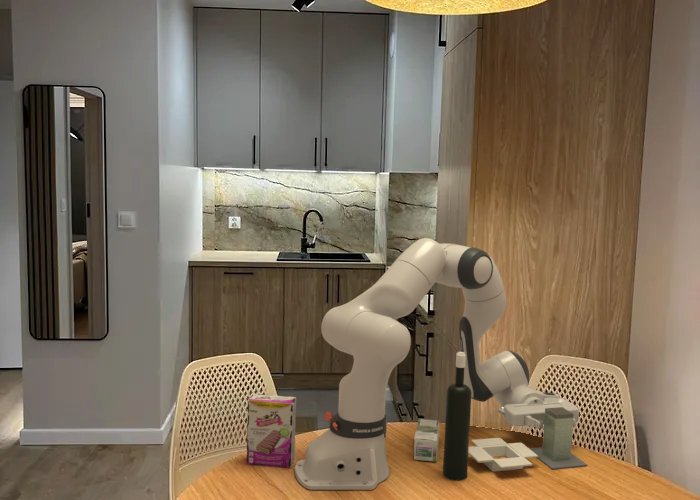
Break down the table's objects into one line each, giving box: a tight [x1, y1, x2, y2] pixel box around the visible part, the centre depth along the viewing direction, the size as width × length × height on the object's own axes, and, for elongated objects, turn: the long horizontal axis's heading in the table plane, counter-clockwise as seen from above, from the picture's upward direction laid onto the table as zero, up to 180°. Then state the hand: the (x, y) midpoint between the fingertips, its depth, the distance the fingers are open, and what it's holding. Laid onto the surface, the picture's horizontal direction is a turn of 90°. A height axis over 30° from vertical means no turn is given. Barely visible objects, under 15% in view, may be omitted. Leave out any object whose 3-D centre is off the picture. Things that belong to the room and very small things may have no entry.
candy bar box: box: [246, 393, 297, 469], centre depth 157 cm, size 11×5×16 cm, turn 84°
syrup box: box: [413, 418, 440, 462], centre depth 168 cm, size 6×6×14 cm
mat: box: [528, 446, 588, 471], centre depth 166 cm, size 10×12×1 cm
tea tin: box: [542, 407, 574, 461], centre depth 165 cm, size 5×5×12 cm
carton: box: [468, 437, 538, 472], centre depth 161 cm, size 16×16×3 cm
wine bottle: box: [442, 351, 472, 481], centre depth 153 cm, size 6×6×30 cm
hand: (557, 424), depth 166 cm, fingers open, 8 cm apart
